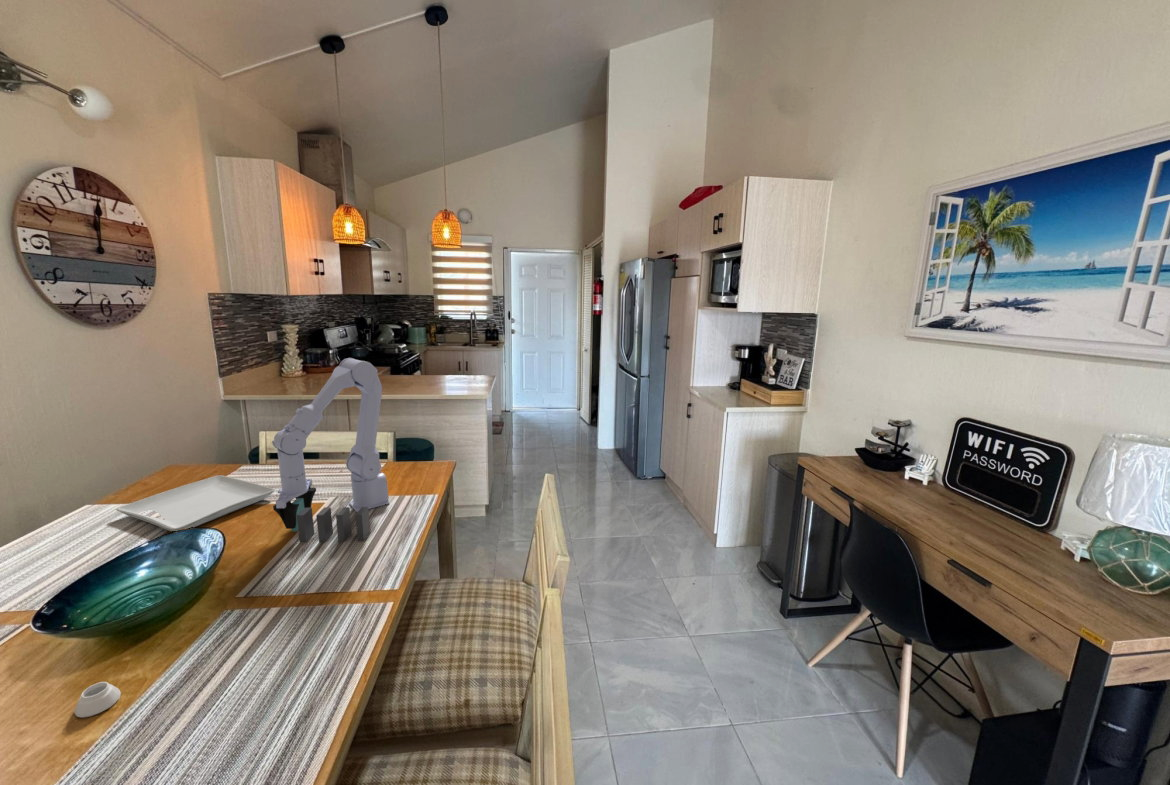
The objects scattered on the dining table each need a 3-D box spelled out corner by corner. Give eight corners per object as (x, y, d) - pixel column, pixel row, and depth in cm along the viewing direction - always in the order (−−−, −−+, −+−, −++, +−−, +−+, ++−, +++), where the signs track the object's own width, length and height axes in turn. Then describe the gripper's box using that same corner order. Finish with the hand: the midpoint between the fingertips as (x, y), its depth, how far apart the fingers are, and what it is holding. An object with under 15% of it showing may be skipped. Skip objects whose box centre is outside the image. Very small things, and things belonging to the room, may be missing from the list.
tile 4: (314, 533, 126) (311, 507, 125) (306, 542, 122) (303, 515, 120) (308, 533, 126) (305, 507, 124) (299, 542, 122) (296, 515, 120)
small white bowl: (128, 689, 77) (91, 695, 76) (125, 674, 76) (87, 679, 75) (106, 716, 72) (66, 722, 71) (102, 700, 72) (62, 706, 71)
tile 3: (333, 533, 126) (330, 507, 125) (325, 541, 122) (322, 515, 121) (327, 533, 126) (324, 507, 125) (319, 542, 122) (316, 515, 120)
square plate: (115, 520, 132) (113, 507, 131) (221, 484, 156) (219, 473, 155) (175, 541, 122) (173, 527, 121) (278, 499, 146) (276, 487, 146)
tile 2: (351, 533, 127) (349, 507, 125) (344, 541, 123) (342, 514, 121) (345, 533, 127) (343, 507, 125) (338, 541, 122) (335, 514, 121)
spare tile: (306, 523, 131) (303, 498, 130) (297, 531, 127) (294, 505, 125) (300, 523, 131) (297, 498, 130) (291, 531, 127) (288, 505, 125)
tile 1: (370, 532, 127) (368, 506, 126) (363, 541, 123) (361, 514, 121) (364, 532, 127) (362, 507, 125) (357, 541, 123) (355, 514, 121)
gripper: (291, 464, 133) (296, 509, 136) (260, 485, 119) (267, 534, 121) (317, 464, 133) (322, 508, 136) (290, 485, 119) (296, 534, 122)
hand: (298, 521), depth 129 cm, fingers open, 7 cm apart
